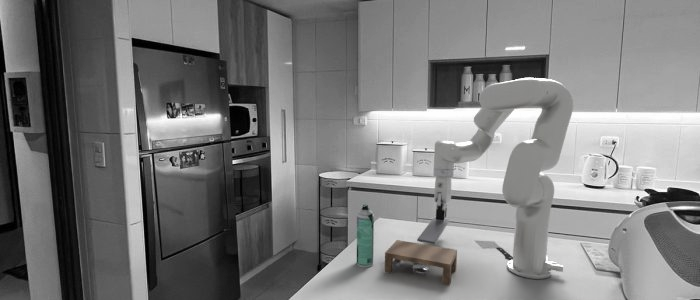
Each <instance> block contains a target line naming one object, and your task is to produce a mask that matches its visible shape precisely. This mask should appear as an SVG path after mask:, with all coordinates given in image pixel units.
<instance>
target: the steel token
mask: <svg viewBox="0 0 700 300" xmlns="http://www.w3.org/2000/svg"><path fill="white" fill-rule="evenodd" d="M412 272H413V273H414V274H417V275H423V276H424V275H427V274H429V273H430V268H429V266H428V265H424V264H416V265H414V266H412Z"/></svg>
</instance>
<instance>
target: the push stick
mask: <svg viewBox="0 0 700 300" xmlns="http://www.w3.org/2000/svg"><path fill="white" fill-rule="evenodd" d="M441 205H442V204H441ZM446 208H447V206H446V204H445V203H444V210H445V211H446ZM446 212H447V211H446ZM449 223H450V220H449V219H446V218H445V216H444V220H437V219H436V217H433V218H432V219H431V220H430V222H428V224H427V226H426V227H425V228H424V230H423V231H422V232H421V234H419V236H418V237H417V238H416V239H417V240H416V241H417V242H419V243H426V244H429V245H430V244H431V245H436V243H437V242H438V240H439V238H441V235H442V234H443V233H444V230H445V229H446V227H447V226H448V224H449Z"/></svg>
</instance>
